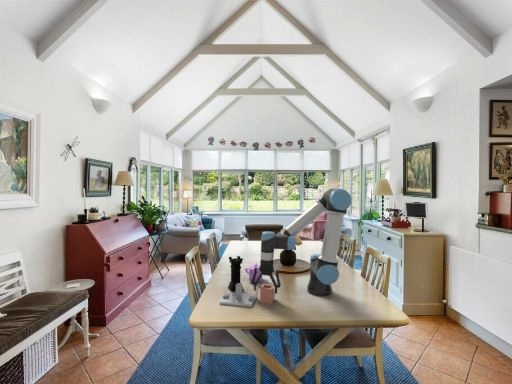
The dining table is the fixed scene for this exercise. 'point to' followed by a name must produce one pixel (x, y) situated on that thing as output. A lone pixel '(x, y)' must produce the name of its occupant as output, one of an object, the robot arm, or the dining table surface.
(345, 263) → the dining table surface
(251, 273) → the teapot
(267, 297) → the box
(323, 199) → the robot arm
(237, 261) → the chess piece
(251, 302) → the stand
